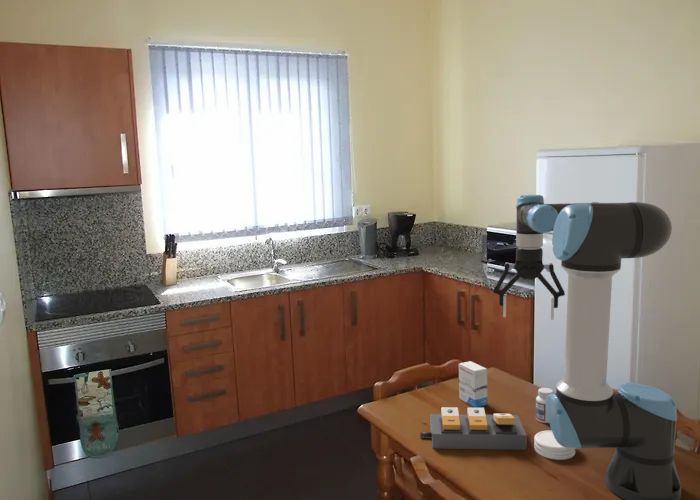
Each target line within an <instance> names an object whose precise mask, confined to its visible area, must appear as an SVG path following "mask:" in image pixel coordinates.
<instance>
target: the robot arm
mask: <svg viewBox="0 0 700 500" xmlns="http://www.w3.org/2000/svg"><path fill="white" fill-rule="evenodd" d="M544 201H545V200H544V196H543V195H541V194H521V195H518V197H517V198H516V206H515V209H516V226H515V227H516V233H515V234H516V235H515V237H516V238H515V241H516V242H515V246H516V249H515V263H509V262H508V261H507V262H505V264H504V270H503V271H502V273H501V275H500V277H499V279H498V281H497V283H496V284H495V286H494V288H493V293H494V294H496V295H499V306H501V307H502V306H503V313H502V317H503V318H506V317H507V291H509V289H510V288H511V287H512V286H513V285H514V284H515V283H516V282H517V281H518V280H519V279H520V278H522V279H523V280H527V279H531V280H535V279H538V280H539V281H540V282H541V283H542V285H543V286H544V287H545V288H546V289H547V290H548V291H549V292H550V294H551V296H550V320H551V321H552V320H554V314H555V311H554V310H555V309H558V307H559V298H560V297H564V296H565V295H566V294H565V290H564V289H563V286H562V284H561V282H560V280H559V278H558V277H557V274H556V273H555V268H554V263H552V262H551V263H548V264H544V263H543V252H544V251H543V248H542V247H543V244H544V243H543V242H544V234H546V233H547V234H548V233H551V232H552V239H551V240H552V241H551V244H552V252H553V255H554V257H555V258H556V259H557V260H560V262H561V264H560V267H562V269H563V270H564V271H565V272H566V273H567V275H568V278H567V279H568V280H567V298H566V299H567V302H566V303H567V304H566V325H565V327H566V329H565V349H564V350H565V353H564V372H563V373H564V374H563V378H561V379H560V380H558V381H557V383H556V391H555V392H553V393H552V394H549V395H548V396H547V400H546V405H547V414H548V419H549V423H548V424H549V426H550V429H551V430H552V433H553V435H554V437H555V439H556V441H557V442H558V443H559V444H560V445H561V446H563V447H567V448H576V449H578V450H581V449H599V448H600V449H605V448H606V449H607V448H609V449H615V451H614V453H613V456H612V458H611V460H610V462H609V465H608V467H607V469H606V473H605V475H606V477H605V483H606V485H607V488H608V489H609V490H610V492H612V493H613V494H614V495H616V496H617V497H618V498H621V499H623V500H682V499H681V498H682V484H681V481H680V478H679V474H678V470H677V467H676V464H675V447H676V445H675V444H676V432H677V421H678V411H677V402H676V400H675V399H674V397H673V396H671V395H670V394H669V393H667V392H665V391H664V390H661V389H659V388H656V387H654V386H651V385H650V386H649V385H647V384H643V383H635V382H624V383H621V384H619V385H618V388H617V392H614V390H613V388H612V387H611V386H610V385H609V384H608V382H607V374H608V357H609V354H608V353H609V340H610V339H609V338H610V323H611V322H610V321H611V320H610V319H611V318H610V317H611V305H612V304H611V302H612V289H613V288H612V285H613V276H614V275H616V274H618V272H620V270H621V267H622V260H623V259H639V258H644V257H647V256H650V255H654V254H656V253H657V252H658V251H661V250H662V249H663V248H664V246H665V245H666V244H667V243H668V241H670V238H671V234H672V228H673V226H672V222H671V218H670V217H669V215H668V214H667V213H666V211H665V210H663V209H662V208H660V207H658V206H656V205H654V204H651V203H646V202H637V201H636V202H635V201H632V202H631V201H630V202H597V201H596V202H595V201H592V202H577V203H575V202H574V203H570V202H569V203H545V202H544ZM512 269H514V270H515V271H516V273H515V275H513V277H511V279H510V280H509V281H507V283H506V284H505V285H504V287H502V288H501V286H502V284H503V283H504V281H505V279H506V278H507V276H508V274H509V271H510V272H511V271H512ZM544 269H545V270H546V272H548V273H549V275H550V276H551V279H552V280H553V282H554V284H555V286H556V289H557V290H558V291H557V290H556V289H555V288H554V287H553V286H552V285H551V283H549V281H548V280H547V279H546V278H545V276H543V274H542V272H543V271H544ZM500 288H501V289H500Z"/></svg>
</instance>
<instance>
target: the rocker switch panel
mask: <svg viewBox="0 0 700 500" xmlns="http://www.w3.org/2000/svg"><path fill="white" fill-rule="evenodd" d="M485 415H486V420H487V425H488V427H487V430H470V426H469V420H468V414H460V413H459V420H460V430H443V424H442V414H441V413H437V414H436V413H434V414H433V413H430V414H429V416H430V417H429V419H430V421H429V422H430V423H429V424H430V425H429V426H430V427H429V428H430V432H429V431H428V432H426V431H425V432H421V431H420V432H419V433H420V435H419V436H420V438H431V443H432V444H431V445H432V449H446V450H447V449H448V450H449V449H452V450H453V449H454V450H461V449H462V450H510V451H511V450H518V451H519V450H520V451H522V450H523V451H526V450H527V449H528V448H527V446H528V445H527V443H528V442H527V441H528V439H527V438H528V435H527V433H526V431H525V430H526V429H525V428H524V426H523V424H522V421H521V419H520V418H519V416H518V414H511V415H512V416H513V417H514V418H515V425H511V424H497V423H496V422H495V421H494V416H493V414H485Z"/></svg>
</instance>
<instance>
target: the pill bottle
mask: <svg viewBox="0 0 700 500" xmlns="http://www.w3.org/2000/svg"><path fill="white" fill-rule="evenodd" d="M537 390H538V391H537V393H538V395H537V396H536V398H535V419H536V421H538V422H539V423H543V424H550V423H549V419H548V414H547V405H546V400H547V396H548V395H549V394H552V393H554V390H553V389H551V388H549V387H540V388H539V389H537Z"/></svg>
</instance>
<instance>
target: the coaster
mask: <svg viewBox="0 0 700 500" xmlns="http://www.w3.org/2000/svg"><path fill="white" fill-rule="evenodd" d="M533 439H534V441H533V443H534V444H533V449H534V451H535V452H536V453H537V454H538V455H540V456H542V457H543V458H546V459H550V460H554V461H555V460H556V461H563V460H569V459H571V458H573V457H574V456H575V455H576V449H577V448H567V447H563V446H561V445H560V444H559V443H558V442H557V441H556V439H555V437H554V435H553V433H552V430H542V431H539V432H537V433H536V434H534V437H533Z"/></svg>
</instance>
